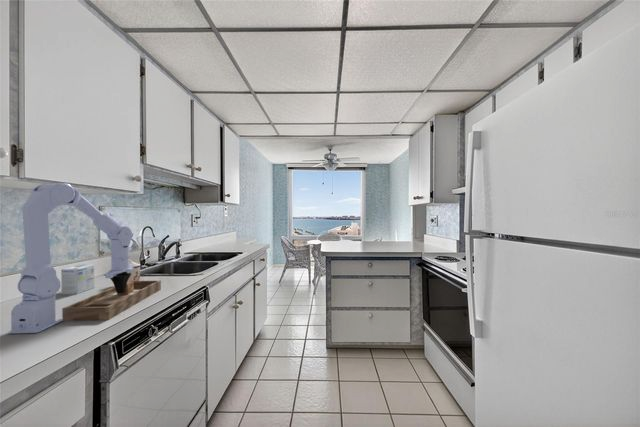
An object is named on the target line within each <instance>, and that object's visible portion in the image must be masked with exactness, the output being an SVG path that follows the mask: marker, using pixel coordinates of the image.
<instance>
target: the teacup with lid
mask: <svg viewBox="0 0 640 427" xmlns="http://www.w3.org/2000/svg"><path fill="white" fill-rule="evenodd" d="M129 265H134V270H131V271H128V272H127V273H131V276H130V277H129V279H128V281H141V264H140V263H138V262H135V261H133V260H132V259H129Z"/></svg>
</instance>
